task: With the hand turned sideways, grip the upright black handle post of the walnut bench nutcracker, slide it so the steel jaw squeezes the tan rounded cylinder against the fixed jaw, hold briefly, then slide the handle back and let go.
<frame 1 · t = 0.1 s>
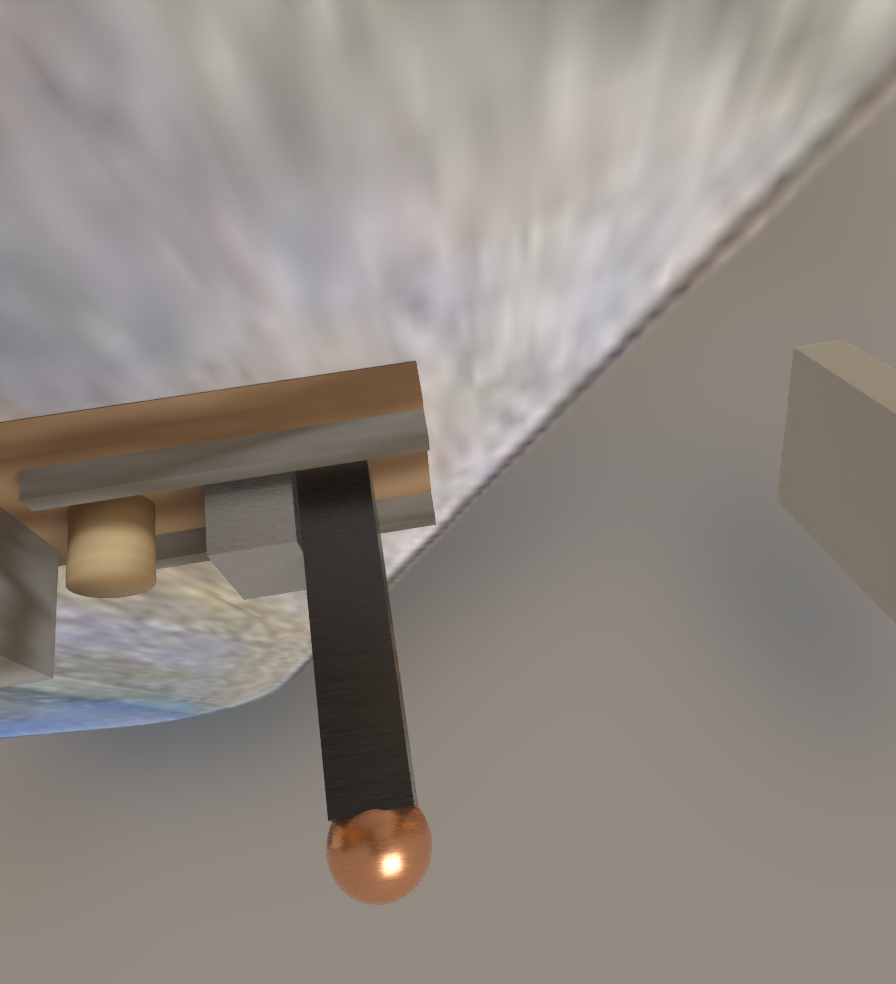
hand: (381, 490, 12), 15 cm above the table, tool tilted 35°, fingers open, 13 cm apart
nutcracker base: (191, 461, 41), on the table
tan rounded cylinder: (112, 508, 40), point 2 cm above the table, touching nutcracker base
handle: (319, 674, 36), point 12 cm above the table, slide at 0.0 cm
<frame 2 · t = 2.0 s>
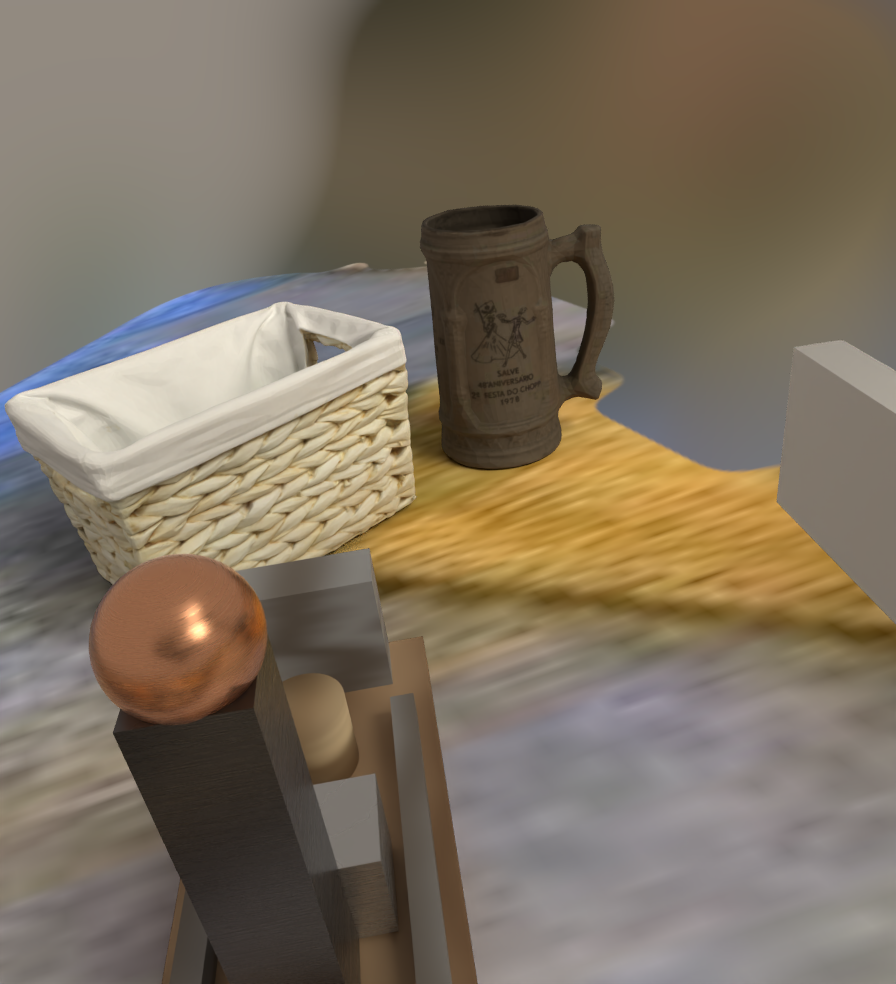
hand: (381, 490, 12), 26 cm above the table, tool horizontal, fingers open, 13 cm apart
storage basket: (258, 540, 62), on the table
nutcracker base: (326, 859, 37), on the table
tan rounded cylinder: (319, 762, 39), point 2 cm above the table, touching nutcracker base
beer stein: (527, 438, 72), on the table
handle: (255, 778, 26), point 12 cm above the table, slide at 0.0 cm
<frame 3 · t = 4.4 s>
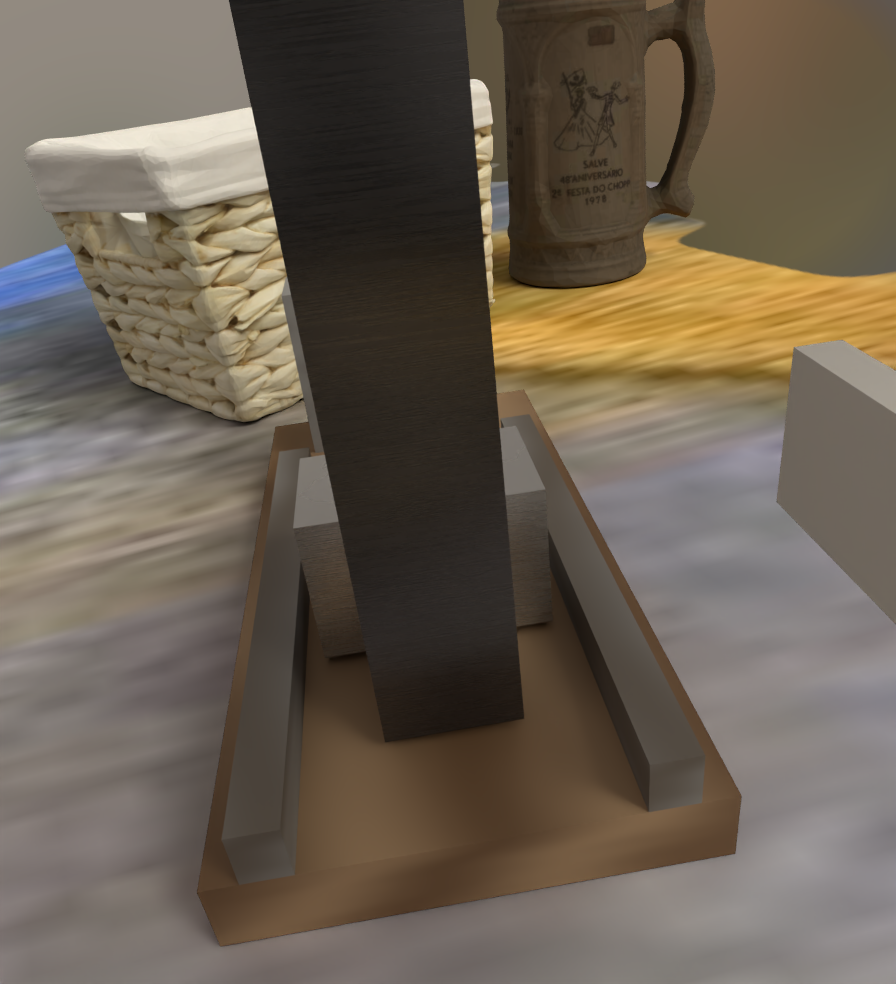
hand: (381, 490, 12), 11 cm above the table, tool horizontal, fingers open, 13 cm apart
storage basket: (314, 351, 54), on the table
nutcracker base: (430, 590, 29), on the table
beer stein: (605, 266, 63), on the table
handle: (390, 308, 18), point 12 cm above the table, slide at 0.0 cm
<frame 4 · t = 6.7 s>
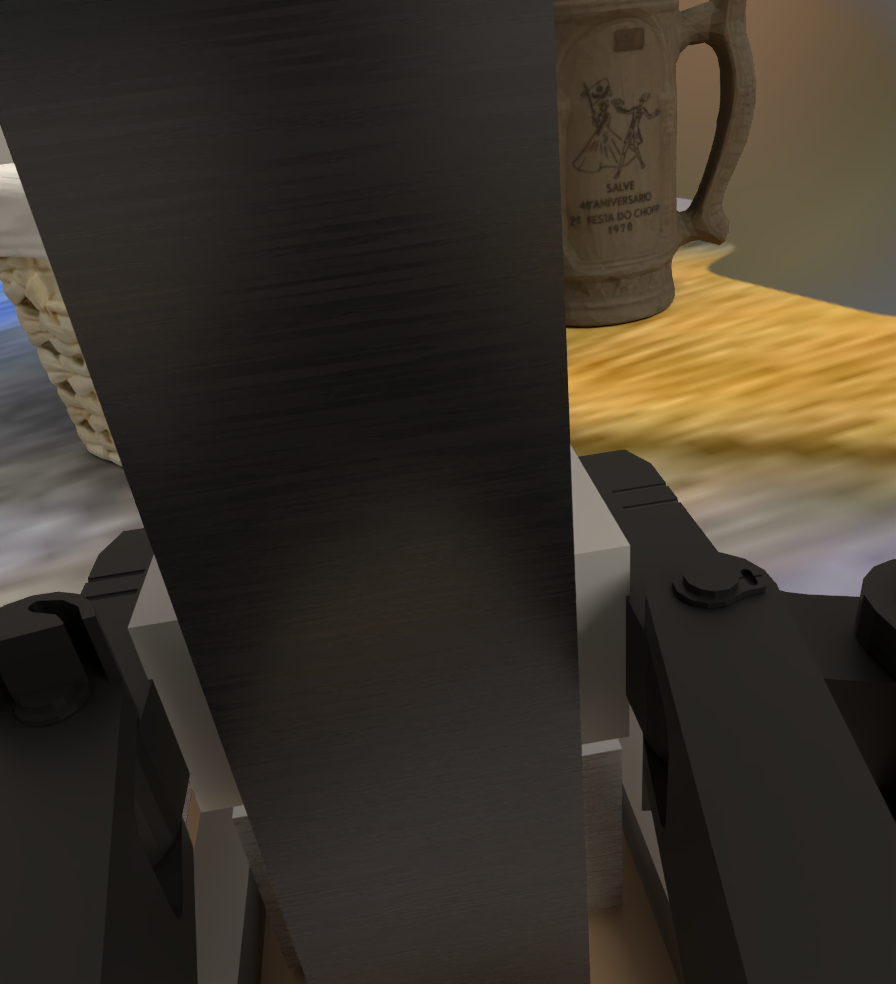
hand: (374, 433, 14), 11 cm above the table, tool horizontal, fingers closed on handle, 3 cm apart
storage basket: (306, 406, 46), on the table
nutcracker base: (438, 788, 21), on the table
beer stein: (627, 299, 56), on the table
handle: (381, 513, 11), point 12 cm above the table, slide at 0.0 cm, touching gripper
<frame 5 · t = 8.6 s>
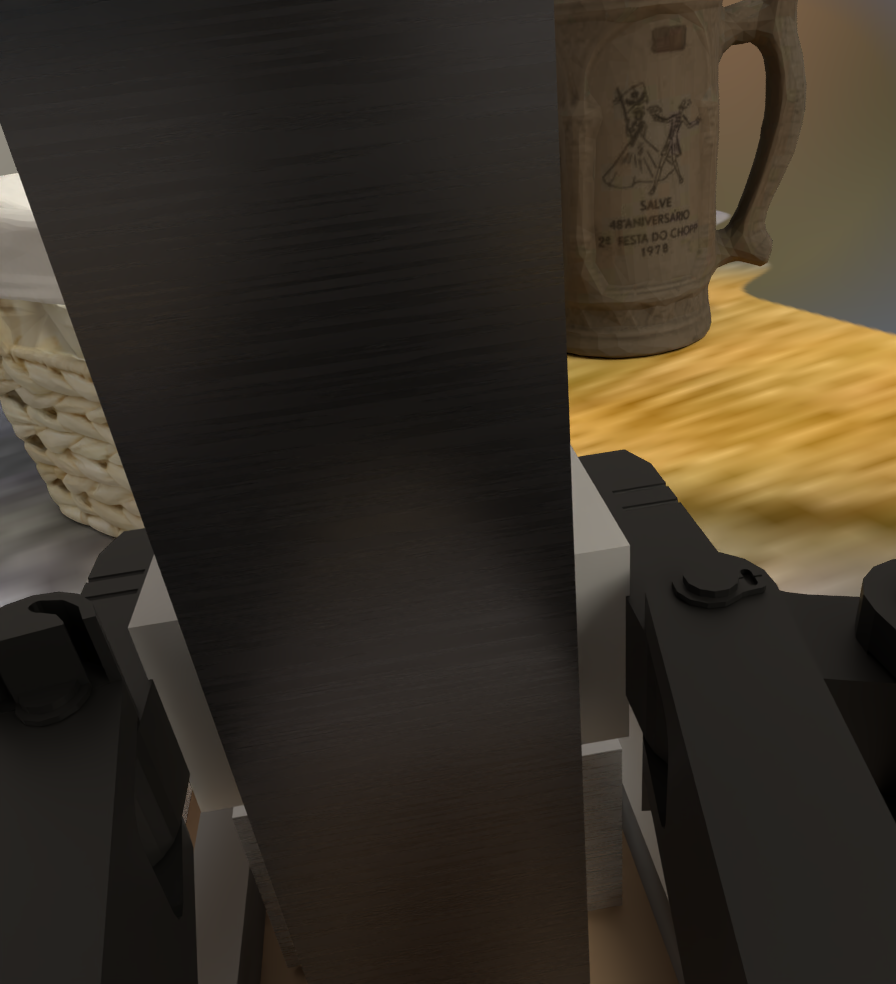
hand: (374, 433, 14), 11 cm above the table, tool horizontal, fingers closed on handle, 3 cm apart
storage basket: (311, 452, 41), on the table
beer stein: (657, 325, 51), on the table
handle: (381, 513, 11), point 12 cm above the table, slide at 6.0 cm, touching gripper, tan rounded cylinder
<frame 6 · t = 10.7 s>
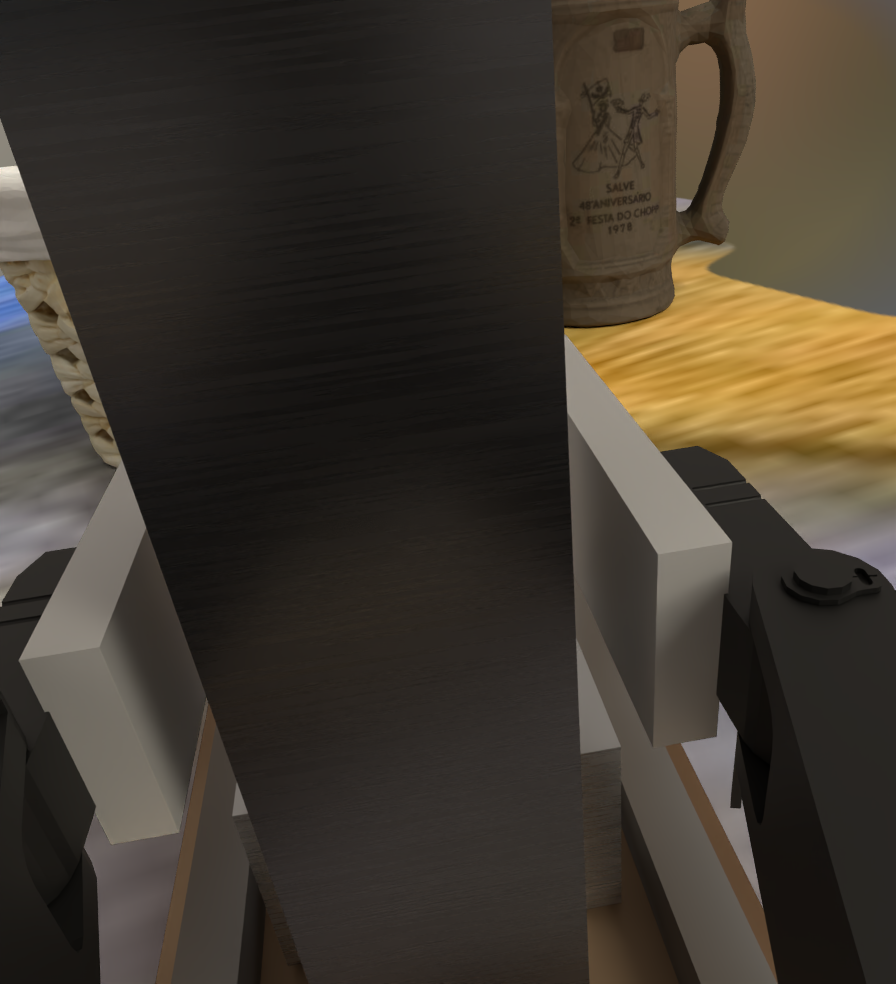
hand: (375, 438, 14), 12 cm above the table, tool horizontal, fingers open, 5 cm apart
storage basket: (321, 408, 46), on the table
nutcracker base: (438, 788, 21), on the table
beer stein: (627, 300, 56), on the table
handle: (381, 512, 11), point 12 cm above the table, slide at 0.1 cm
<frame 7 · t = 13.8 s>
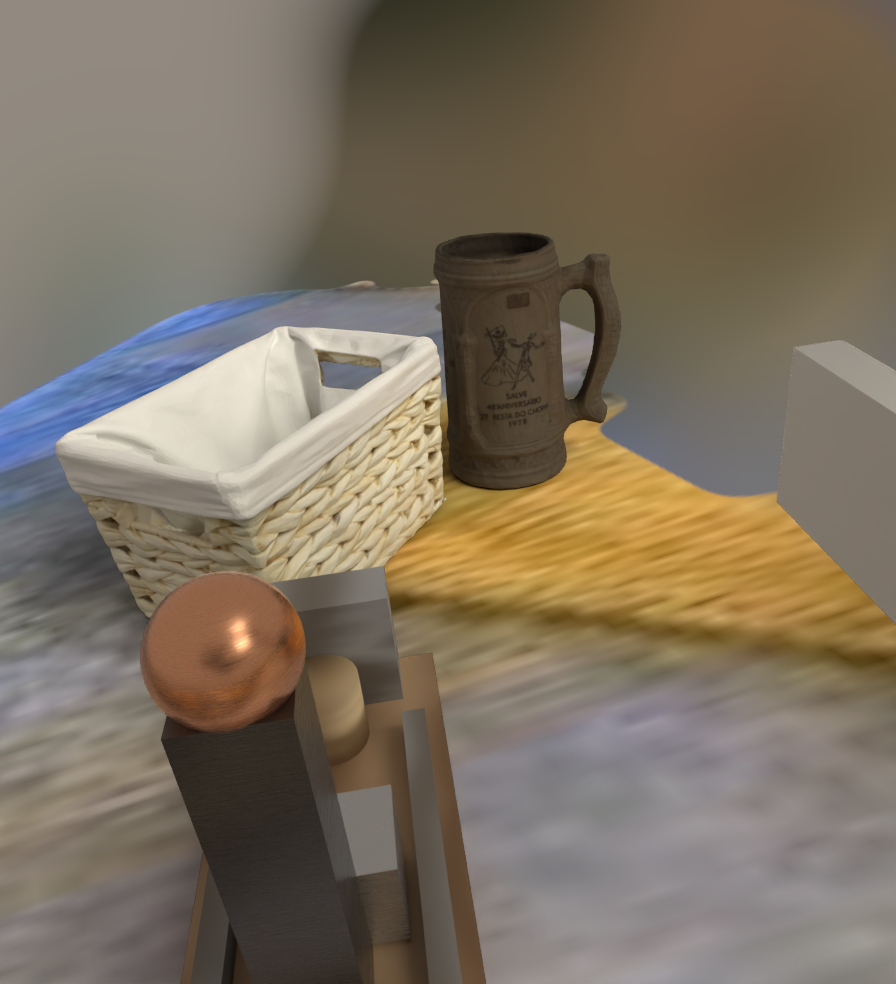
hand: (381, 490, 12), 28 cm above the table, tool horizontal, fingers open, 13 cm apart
storage basket: (301, 561, 62), on the table
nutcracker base: (338, 869, 38), on the table
tan rounded cylinder: (332, 737, 42), point 2 cm above the table, touching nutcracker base
beer stein: (532, 459, 73), on the table
handle: (282, 786, 27), point 12 cm above the table, slide at 0.1 cm
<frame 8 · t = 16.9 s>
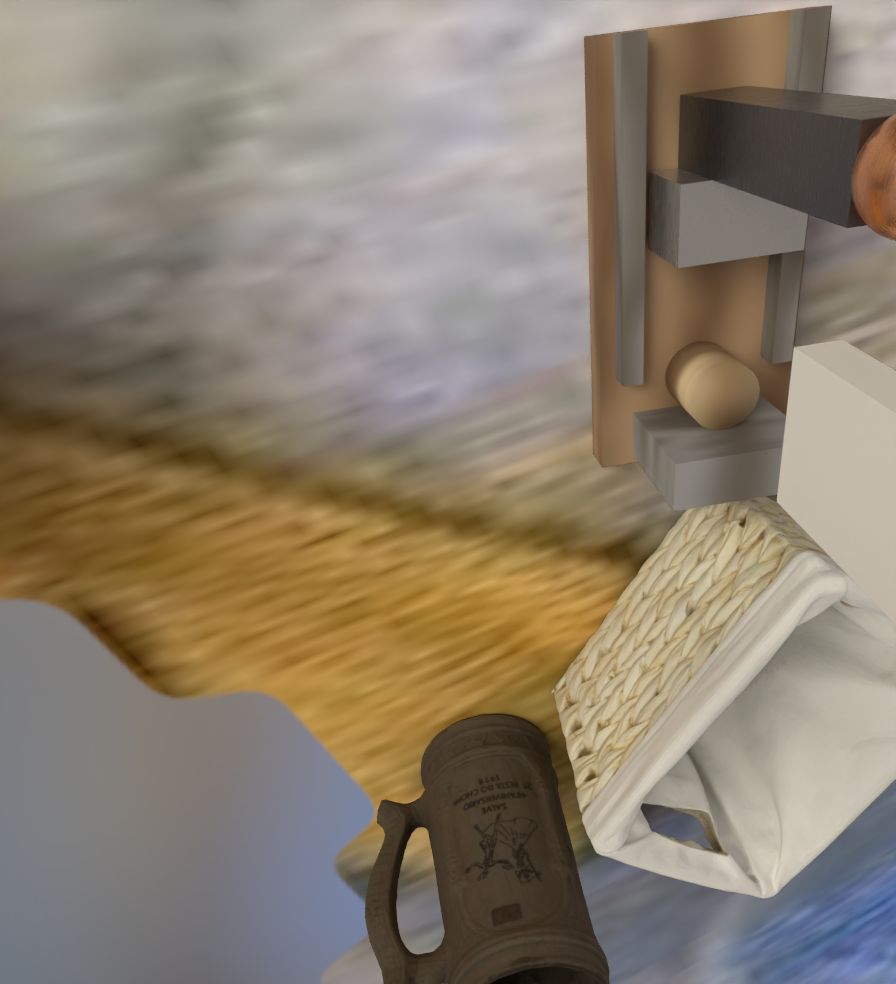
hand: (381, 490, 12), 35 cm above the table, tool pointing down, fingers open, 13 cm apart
storage basket: (699, 612, 61), on the table
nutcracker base: (689, 257, 47), on the table
tan rounded cylinder: (697, 372, 48), point 2 cm above the table, touching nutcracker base
beer stein: (456, 765, 65), on the table
handle: (803, 193, 34), point 12 cm above the table, slide at 0.1 cm
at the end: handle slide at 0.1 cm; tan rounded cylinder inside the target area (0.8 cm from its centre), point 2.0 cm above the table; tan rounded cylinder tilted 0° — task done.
